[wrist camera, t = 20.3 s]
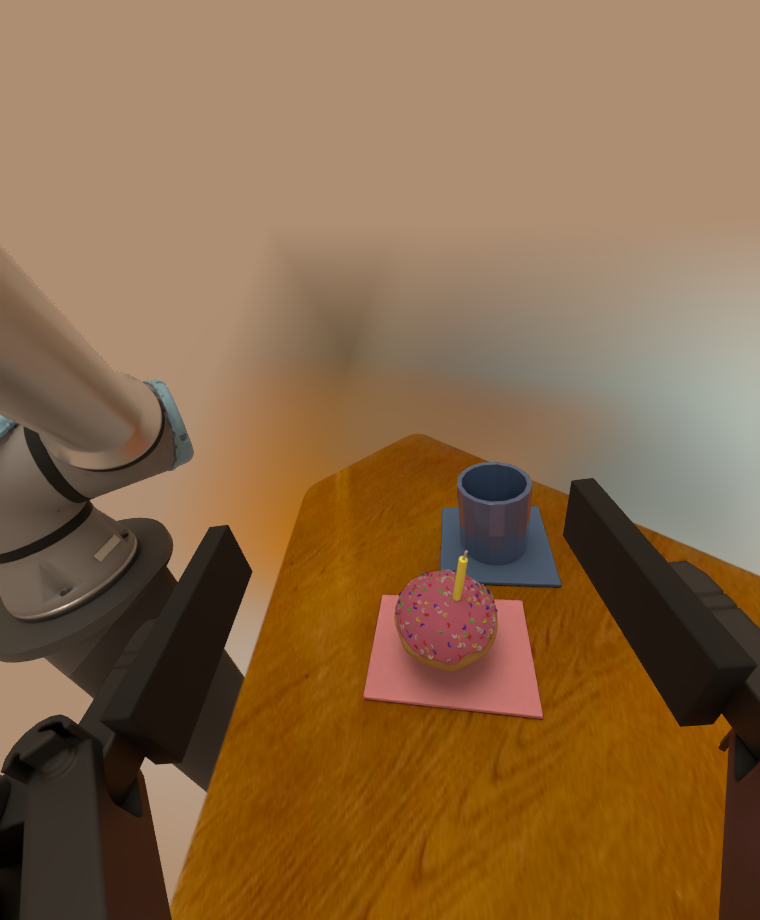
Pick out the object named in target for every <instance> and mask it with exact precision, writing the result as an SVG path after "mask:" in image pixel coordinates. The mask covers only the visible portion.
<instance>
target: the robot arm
mask: <svg viewBox="0 0 760 920" xmlns="http://www.w3.org/2000/svg"><path fill="white" fill-rule="evenodd" d="M193 454H194V451H193V447H192V444H191V441H190V438H189V436H188V434H187V431H186V428H185V425H184V423H183V420H182V418H181V416H180V413H179V411H178V408H177V406H176V404H175V402H174V400H173V397H172V395H171V393H170V391H169V389H168V388H167V386H166V385H165V383H164V382H162V381H160V380H154V381H148V380H146V381H144V382H141V381H140V380H138V379H136V378H134V377H132V376H130V375H128V374H125V373H122V372H117V371H114V370H113V369H112V367H110V365H109V364H108V363H107V362H106V361H105V360H104V359H103V357H102V356H101V355H100V354H99V353H98V352H97V351H96V350H95V349H94V348H93V346H92V345H91V344H90V343H89V342H88V341H87V340H86V339H85V337H84V336H83V335H82V334H81V333H80V332H79V331H78V330H77V329H76V328H75V326H74V325H73V324H72V323H71V322H70V321H69V320H68V319H67V317H66V316H65V315H64V314H63V313H62V312H61V311H60V310H59V309H58V307H57V306H56V305H55V304H54V303H53V302H52V301H51V300H50V299H49V297H48V296H47V295H46V294H45V293H44V292H43V291H42V290H41V289H40V288H39V286H38V285H37V284H36V283H35V282H34V281H33V280H32V279H31V277H30V276H29V275H28V274H27V273H26V272H25V271H24V270H23V269H22V267H21V266H20V265H19V264H18V263H17V262H16V261H15V260H14V259H13V257H12V256H11V255H10V254H9V253H8V252H7V251H6V250H5V249H4V247H3V246H2V245H1V244H0V596H1V599H2V601H3V604H4V606H5V607H6V608H7V610H8V611H9V612H10V613H11V614H12V615H13V616H14V617H15V618H16V619H18V620H19V621H22V622H25V623H39V622H44V621H48V620H52V619H55V618H58V617H61V616H64V615H66V614H68V613H71V612H73V611H75V610H77V609H79V608H81V607H83V606H84V605H86V604H88V603H89V602H91V601H93V600H94V599H96V598H97V597H99V596H100V595H102V594H103V593H104V592H106V591H107V590H108V589H110V588H111V587H112V586H113V585H114V584H116V583H117V582H118V581H119V580H120V579H121V578H122V577H123V576H124V575H125V574H126V573H127V571H128V570H129V569H130V568H131V566H132V565H133V564H134V562H135V560H136V559H137V557H138V554H139V551H140V543H139V541H138V539H137V538H136V536H135V535H134V534H133V533H132V532H131V531H130V530H129V529H128V528H127V527H125V526H123V525H122V524H120V523H119V522H117V521H115V520H114V519H112V518H111V517H109V516H107V515H106V514H104V513H102V512H101V511H99V510H98V509H96V508H95V507H94V506H93V504H92V503H91V502H90V501H89V500H90V499H93V498H95V497H98V496H100V495H103V494H106V493H109V492H111V491H114V490H117V489H120V488H122V487H125V486H128V485H130V484H133V483H136V482H138V481H141V480H144V479H147V478H149V477H152V476H155V475H157V474H160V473H163V472H166V471H171V470H174V469H176V468H177V467H178V466H180V465H183V464H185V463H187V462H189V461H190V460H191V459H192V457H193ZM563 536H564V538H565V539H566V541H567V543H568V544H569V546H570V548H571V549H572V551H573V553H574V554H575V556H576V557H577V559H578V561H579V562H580V564H581V566H582V567H583V569H584V570H585V572H586V574H587V575H588V577H589V579H590V580H591V582H592V584H593V585H594V587H595V588H596V590H597V592H598V593H599V595H600V597H601V598H602V600H603V601H604V603H605V605H606V606H607V608H608V610H609V611H610V613H611V615H612V616H613V618H614V619H615V621H616V623H617V624H618V626H619V628H620V629H621V631H622V633H623V634H624V636H625V637H626V639H627V641H628V642H629V644H630V646H631V647H632V649H633V650H634V652H635V654H636V655H637V657H638V659H639V660H640V662H641V664H642V665H643V667H644V668H645V670H646V672H647V673H648V675H649V677H650V678H651V680H652V681H653V683H654V685H655V686H656V688H657V690H658V691H659V693H660V695H661V696H662V698H663V699H664V701H665V703H666V704H667V706H668V708H669V709H670V711H671V712H672V714H673V716H674V717H675V719H676V721H677V722H678V724H679V726H680V727H682V726H696V725H709V724H714V722H715V721H716V720H717V718H718V717H719V716H720V714H721V713H722V714H723V716H724V717H725V718H726V720H727V721H728V723H729V724H730V725H731V727H732V729H731V730H730V731H729V732H728V734H727V735H726V736H725V737H724V738H723V740H722V741H721V743H720V746H719V749H720V750H722V751H724V752H725V751H726V749H727V748H728V747H729V753H728V771H727V788H726V805H725V823H724V840H723V858H722V875H721V892H720V910H719V920H760V628H759V627H758V626H757V625H756V624H755V623H754V622H753V621H752V620H751V619H750V618H749V617H748V616H747V615H746V614H745V613H744V612H743V611H742V610H741V609H740V608H737V605H736V604H735V603H734V601H733V600H732V599H731V598H730V597H729V596H728V595H727V594H724V593H723V590H722V589H721V588H720V587H719V586H718V585H717V584H716V583H715V582H714V581H713V580H712V579H711V578H710V577H709V576H708V575H707V574H706V573H704V572H703V571H701V570H700V569H698V568H697V567H695V566H693V565H692V564H690V563H689V562H687V561H678V562H669V563H668V562H667V561H666V560H665V559H664V558H663V557H662V555H661V554H660V553H659V552H658V551H657V550H656V549H655V548H654V546H653V545H652V544H651V543H650V542H649V541H648V540H647V538H646V537H645V536H644V535H643V534H642V533H641V532H640V530H639V529H638V528H637V527H636V526H635V525H634V524H633V523H632V521H631V520H630V519H629V518H628V517H627V516H626V515H625V513H624V512H623V511H622V510H621V509H620V508H619V507H618V506H617V504H616V503H615V502H614V501H613V500H612V499H611V498H610V496H609V495H608V494H607V493H606V492H605V491H604V490H603V488H602V487H601V486H600V485H599V484H598V483H597V482H596V481H595V480H594V478H590V479H582V480H574V481H572V482H571V487H570V494H569V500H568V507H567V513H566V519H565V526H564V532H563ZM251 574H252V570H251V568H250V566H249V564H248V562H247V560H246V558H245V556H244V555H243V553H242V551H241V549H240V547H239V545H238V543H237V541H236V539H235V537H234V535H233V533H232V531H231V530H230V528H229V526H228V525H223V526H215V527H209V529H208V531H207V533H206V534H205V536H204V538H203V540H202V541H201V543H200V545H199V547H198V548H197V550H196V552H195V554H194V555H193V557H192V559H191V561H190V562H189V564H188V566H187V568H186V569H185V571H184V573H183V575H182V576H181V578H180V580H179V582H178V583H177V585H176V587H175V589H174V590H173V592H172V594H171V596H170V597H169V599H168V601H167V603H166V604H165V606H164V608H163V610H162V611H161V613H160V615H159V617H158V618H157V619H149V620H147V621H146V622H145V623H144V624H143V625H142V626H141V627H140V628H139V629H138V630H137V631H136V632H135V634H134V635H133V636H132V638H131V639H130V641H129V642H128V644H127V646H126V647H125V649H124V651H123V655H121V656H120V657H119V659H118V661H117V662H116V664H115V665H114V669H113V670H111V672H110V674H109V675H108V677H107V679H106V680H105V682H104V683H103V685H102V687H101V688H100V690H99V692H98V693H97V695H96V697H95V698H94V700H93V702H92V703H91V705H90V706H89V708H88V710H87V711H86V713H85V715H84V716H83V718H82V720H81V721H80V723H79V724H76V723H75V722H74V721H72V720H71V719H70V718H68V717H66V716H63V715H56V716H51V717H49V718H47V719H45V720H43V721H41V722H39V723H38V724H36V725H35V726H34V727H32V728H31V729H30V730H29V731H28V732H26V733H25V734H24V735H23V736H22V737H21V738H20V739H19V741H18V742H17V743H16V744H15V745H14V746H13V748H12V749H11V751H10V752H9V754H8V755H7V757H6V759H5V761H4V764H3V767H2V770H1V772H2V773H4V774H5V775H3V776H2V775H0V920H172V919H171V914H170V909H169V903H168V898H167V893H166V888H165V883H164V877H163V872H162V867H161V862H160V857H159V852H158V846H157V841H156V836H155V831H154V826H153V821H152V815H151V810H150V805H149V800H148V795H147V790H146V784H145V779H144V775H143V774H142V772H141V770H140V767H141V764H142V762H143V760H144V758H145V757H147V758H148V759H149V760H151V761H152V762H153V763H155V764H169V763H182V760H183V758H184V755H185V752H186V749H187V747H188V744H189V741H190V739H191V736H192V733H193V731H194V728H195V725H196V723H197V720H198V717H199V714H200V712H201V709H202V706H203V704H204V701H205V698H206V696H207V693H208V690H209V687H210V685H211V682H212V679H213V677H214V674H215V671H216V669H217V666H218V663H219V660H220V658H221V655H222V652H223V650H224V647H225V644H226V642H227V639H228V636H229V633H230V631H231V628H232V625H233V623H234V620H235V617H236V615H237V612H238V609H239V606H240V604H241V601H242V598H243V596H244V593H245V590H246V587H247V585H248V582H249V579H250V577H251Z"/></svg>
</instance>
